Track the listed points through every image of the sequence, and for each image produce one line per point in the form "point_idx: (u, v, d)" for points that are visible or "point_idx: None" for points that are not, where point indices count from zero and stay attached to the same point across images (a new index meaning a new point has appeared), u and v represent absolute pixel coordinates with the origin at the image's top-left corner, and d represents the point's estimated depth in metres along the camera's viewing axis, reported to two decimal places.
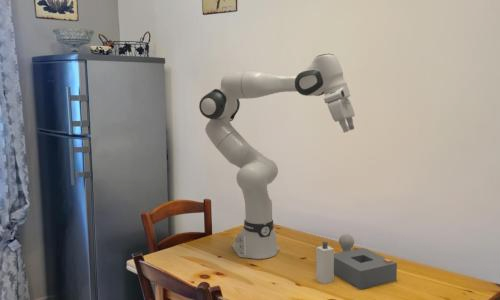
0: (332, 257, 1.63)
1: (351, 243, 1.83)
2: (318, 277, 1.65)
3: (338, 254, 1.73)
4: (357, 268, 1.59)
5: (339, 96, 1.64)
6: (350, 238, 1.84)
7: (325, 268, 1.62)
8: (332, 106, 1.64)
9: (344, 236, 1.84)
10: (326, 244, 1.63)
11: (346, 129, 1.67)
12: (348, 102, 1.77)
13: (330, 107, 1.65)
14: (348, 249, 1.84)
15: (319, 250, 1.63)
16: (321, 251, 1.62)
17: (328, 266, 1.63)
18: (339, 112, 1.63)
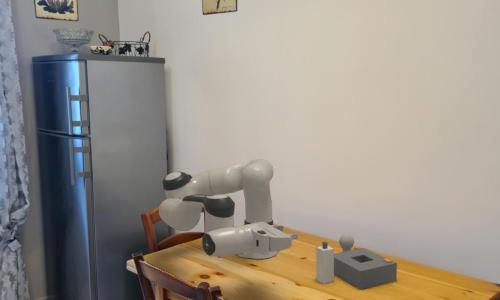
0: (332, 257, 1.63)
1: (351, 243, 1.83)
2: (318, 277, 1.65)
3: (338, 254, 1.73)
4: (357, 268, 1.59)
5: (267, 236, 1.44)
6: (350, 238, 1.84)
7: (325, 267, 1.62)
8: (276, 246, 1.44)
9: (344, 236, 1.84)
10: (326, 244, 1.63)
11: (295, 235, 1.52)
12: None
13: (276, 249, 1.44)
14: (348, 249, 1.84)
15: (319, 250, 1.63)
16: (321, 251, 1.62)
17: (328, 266, 1.63)
18: (284, 239, 1.45)
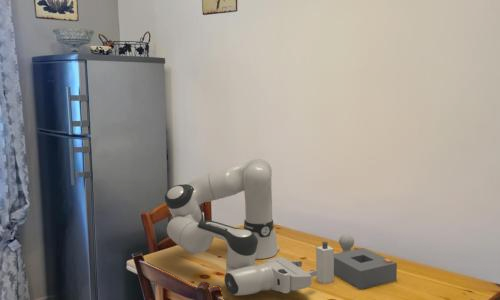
0: (332, 257, 1.63)
1: (351, 243, 1.83)
2: (318, 277, 1.65)
3: (338, 254, 1.73)
4: (357, 268, 1.59)
5: (288, 276, 1.48)
6: (350, 238, 1.84)
7: (325, 267, 1.62)
8: (297, 285, 1.48)
9: (344, 236, 1.84)
10: (326, 244, 1.63)
11: (314, 272, 1.56)
12: None
13: (297, 287, 1.49)
14: (348, 249, 1.84)
15: (319, 250, 1.63)
16: (321, 251, 1.62)
17: (328, 266, 1.63)
18: (305, 278, 1.49)
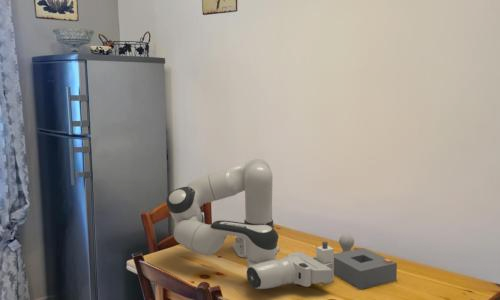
0: (332, 257, 1.63)
1: (351, 243, 1.83)
2: None
3: (338, 254, 1.73)
4: (357, 268, 1.59)
5: (309, 269, 1.52)
6: (350, 238, 1.84)
7: None
8: (318, 278, 1.52)
9: (344, 236, 1.84)
10: (326, 244, 1.63)
11: (331, 264, 1.61)
12: None
13: (318, 281, 1.52)
14: (348, 249, 1.84)
15: (319, 250, 1.63)
16: (321, 251, 1.62)
17: None
18: (325, 272, 1.53)
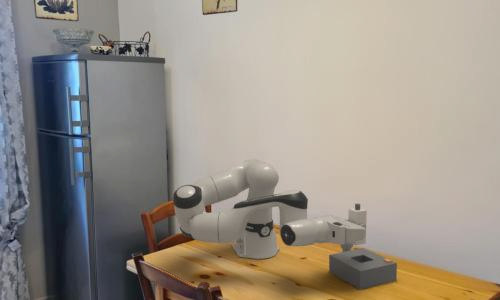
0: (365, 219, 1.63)
1: (351, 243, 1.83)
2: None
3: (338, 254, 1.73)
4: (357, 268, 1.59)
5: (344, 228, 1.52)
6: None
7: None
8: (352, 237, 1.53)
9: None
10: (359, 206, 1.63)
11: (364, 225, 1.62)
12: None
13: (352, 239, 1.53)
14: (348, 249, 1.84)
15: (352, 211, 1.64)
16: (354, 212, 1.62)
17: None
18: (360, 230, 1.53)
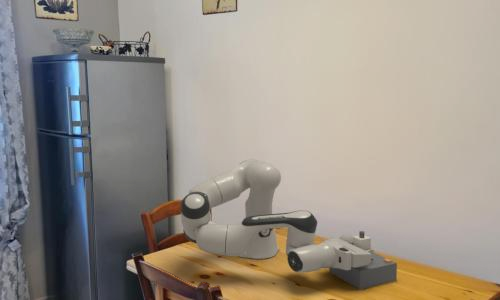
0: (369, 246, 1.66)
1: None
2: None
3: None
4: (357, 268, 1.59)
5: (350, 253, 1.55)
6: (350, 238, 1.84)
7: None
8: (358, 262, 1.55)
9: (344, 236, 1.84)
10: (363, 233, 1.66)
11: (371, 251, 1.63)
12: None
13: (358, 265, 1.55)
14: None
15: (356, 239, 1.66)
16: (358, 240, 1.65)
17: None
18: (365, 256, 1.56)
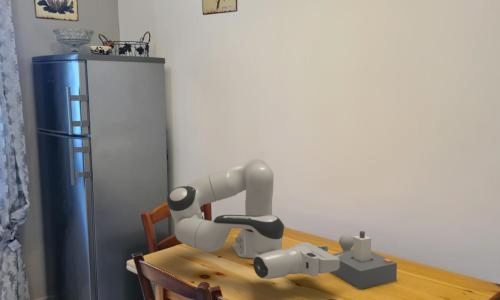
0: (369, 246, 1.66)
1: (351, 243, 1.83)
2: None
3: None
4: (357, 268, 1.59)
5: (317, 259, 1.49)
6: (350, 238, 1.84)
7: (363, 256, 1.65)
8: (326, 268, 1.49)
9: (344, 236, 1.84)
10: (363, 233, 1.66)
11: (342, 256, 1.57)
12: None
13: (326, 270, 1.50)
14: (348, 249, 1.84)
15: (356, 239, 1.66)
16: (359, 240, 1.65)
17: (365, 255, 1.66)
18: (333, 261, 1.50)
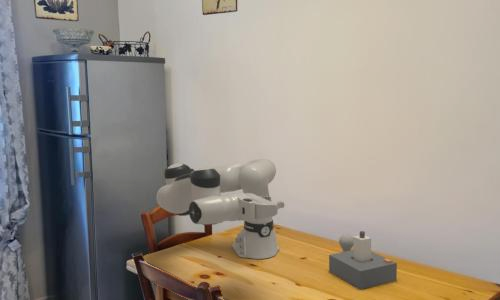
0: (369, 246, 1.66)
1: (351, 243, 1.83)
2: None
3: (338, 254, 1.73)
4: (357, 268, 1.59)
5: (253, 203, 1.45)
6: (350, 238, 1.84)
7: (363, 256, 1.65)
8: (262, 213, 1.45)
9: (344, 236, 1.84)
10: (363, 233, 1.66)
11: (282, 203, 1.53)
12: None
13: (262, 216, 1.45)
14: (348, 249, 1.84)
15: (356, 239, 1.66)
16: (359, 240, 1.65)
17: (365, 255, 1.66)
18: (270, 206, 1.46)
